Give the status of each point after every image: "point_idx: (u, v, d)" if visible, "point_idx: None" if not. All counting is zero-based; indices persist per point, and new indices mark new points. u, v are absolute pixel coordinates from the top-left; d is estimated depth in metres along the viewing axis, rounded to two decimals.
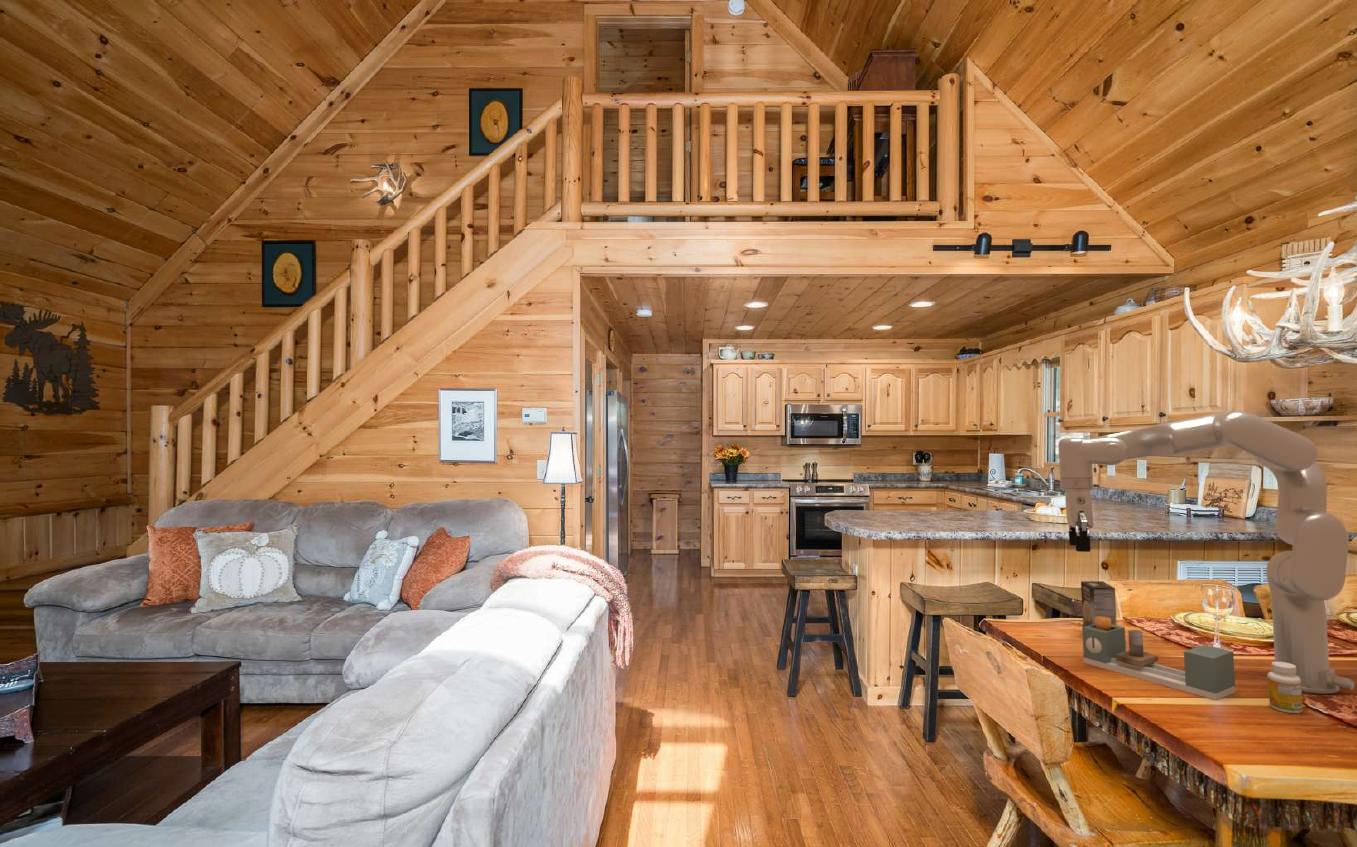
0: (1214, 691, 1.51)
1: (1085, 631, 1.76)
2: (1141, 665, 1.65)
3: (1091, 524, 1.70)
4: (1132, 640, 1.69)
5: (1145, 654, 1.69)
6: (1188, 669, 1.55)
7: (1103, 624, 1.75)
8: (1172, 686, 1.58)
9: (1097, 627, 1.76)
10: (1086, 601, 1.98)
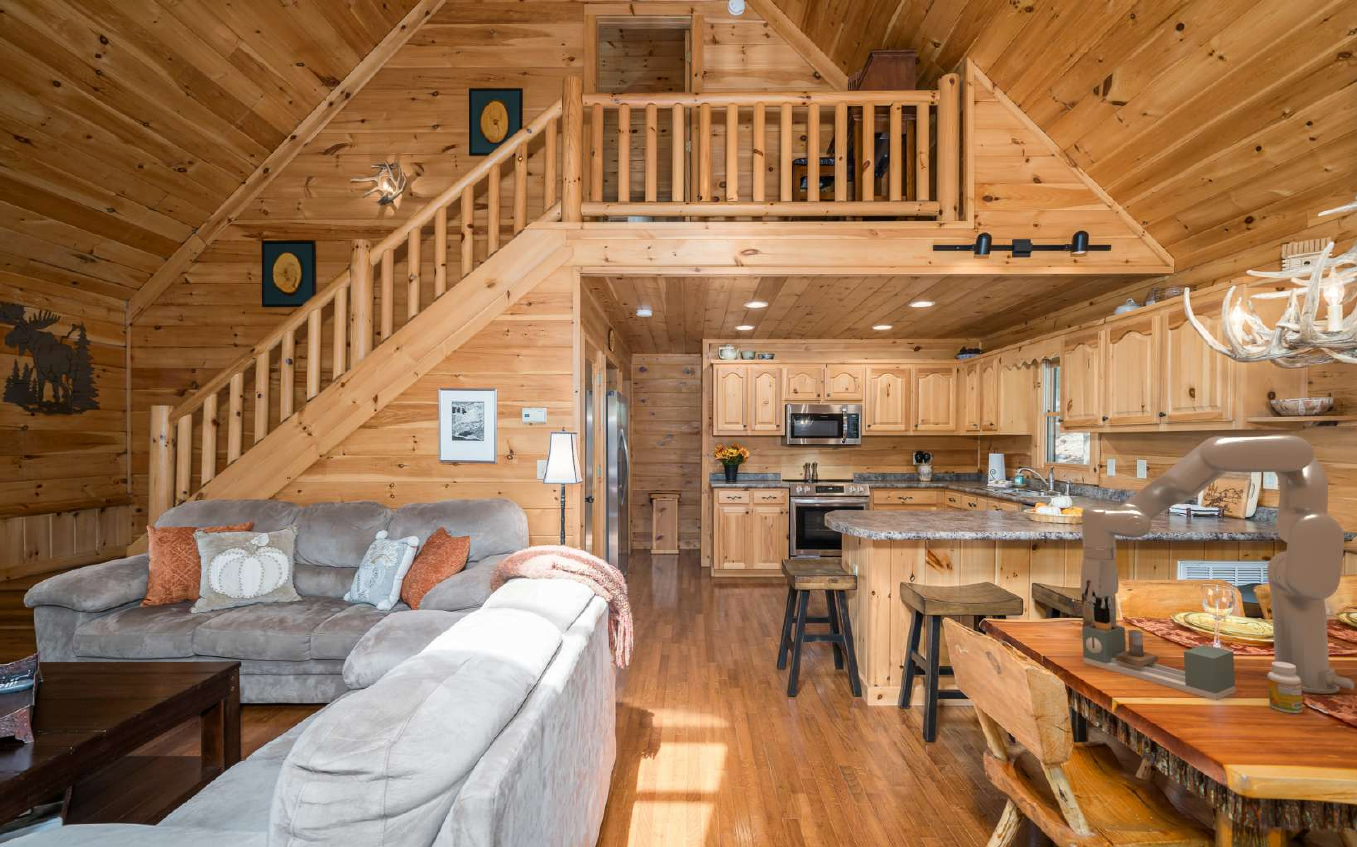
0: (1214, 691, 1.51)
1: (1085, 631, 1.76)
2: (1141, 665, 1.65)
3: None
4: (1132, 640, 1.69)
5: (1145, 654, 1.69)
6: (1188, 669, 1.55)
7: (1104, 628, 1.75)
8: (1172, 686, 1.58)
9: None
10: (1086, 601, 1.98)
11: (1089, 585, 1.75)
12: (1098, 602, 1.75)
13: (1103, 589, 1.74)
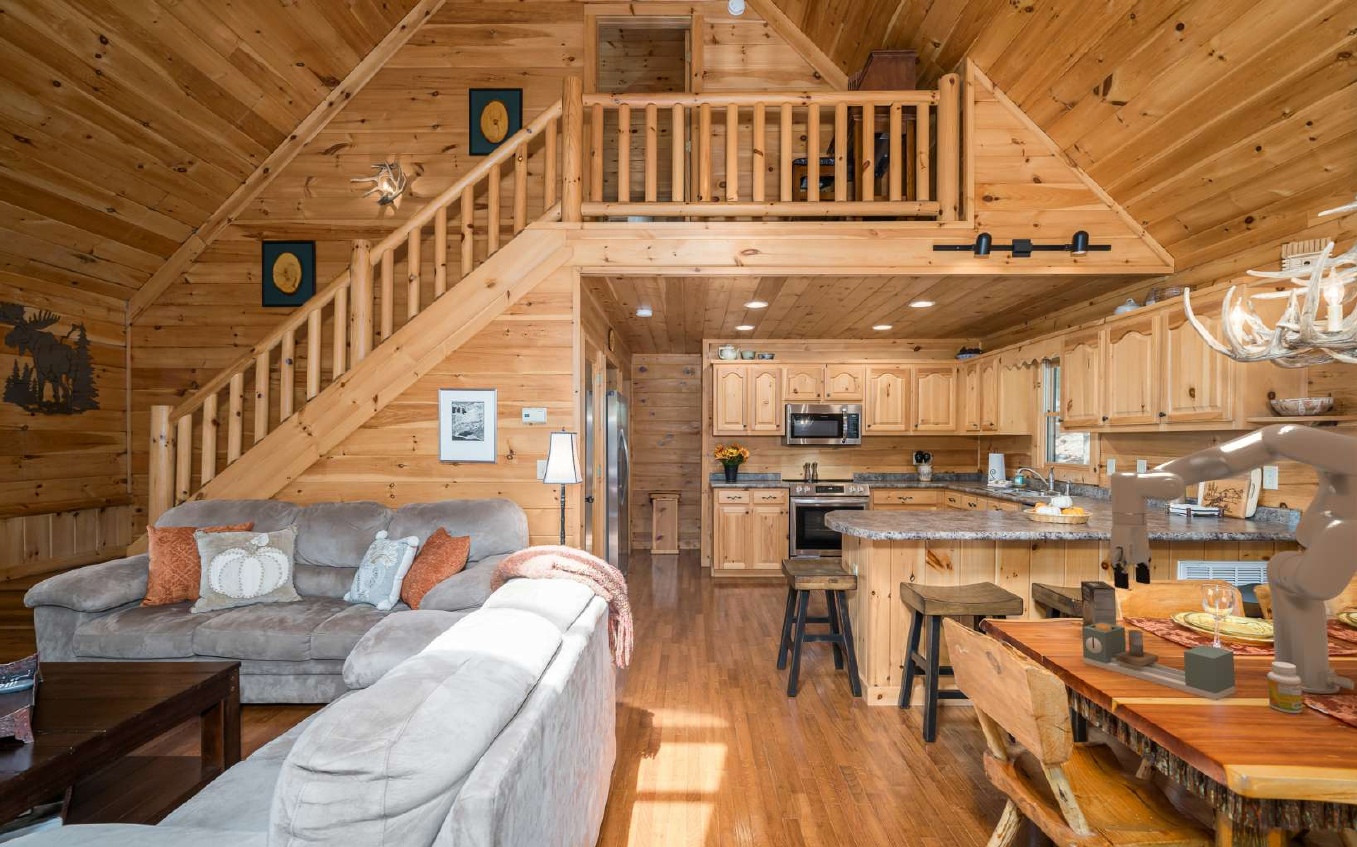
0: (1214, 691, 1.51)
1: (1085, 631, 1.76)
2: (1141, 665, 1.65)
3: None
4: (1132, 640, 1.69)
5: (1145, 654, 1.69)
6: (1188, 669, 1.55)
7: None
8: (1172, 686, 1.58)
9: None
10: (1086, 601, 1.98)
11: None
12: (1119, 567, 1.66)
13: (1134, 556, 1.67)
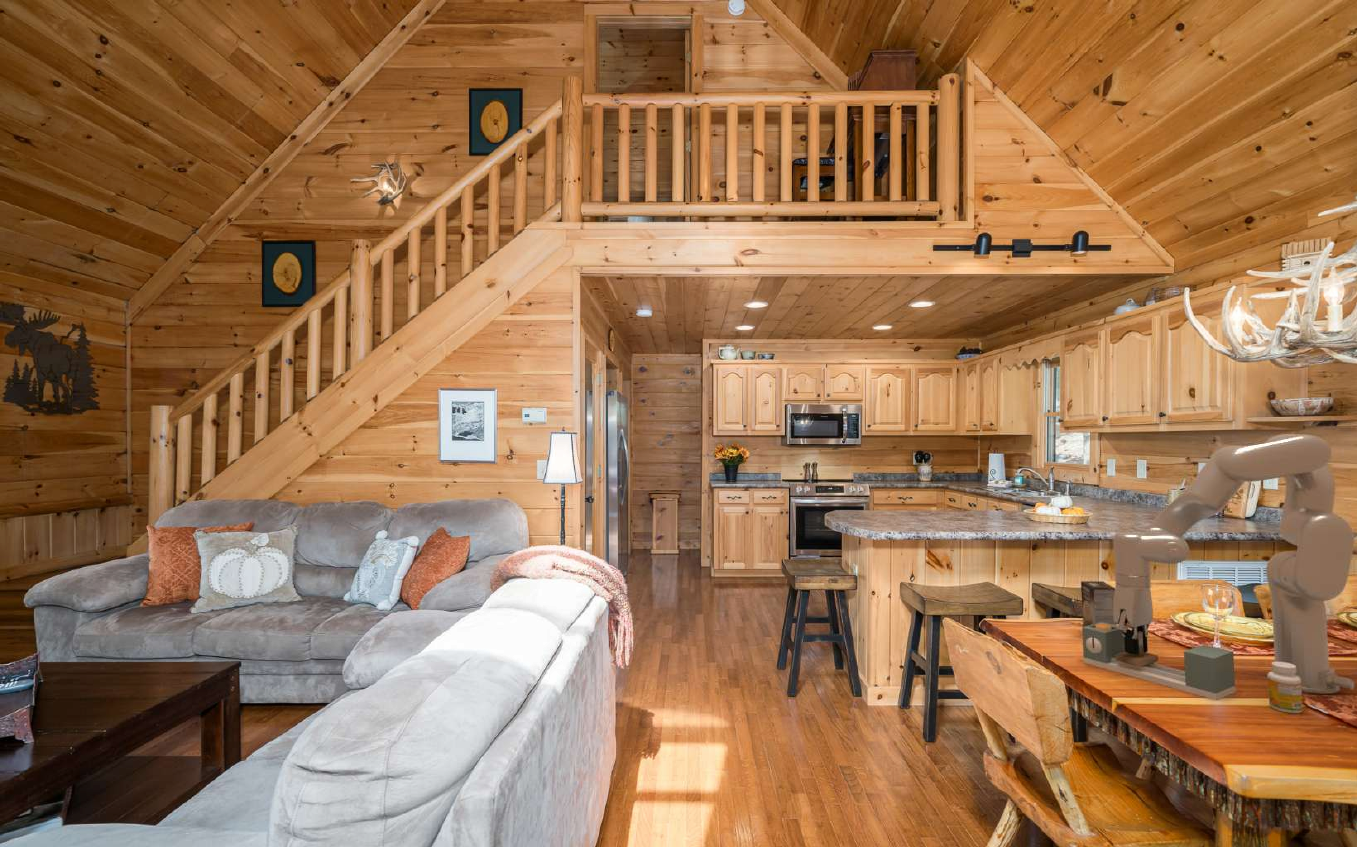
0: (1214, 691, 1.51)
1: (1085, 631, 1.76)
2: (1141, 665, 1.65)
3: None
4: None
5: (1145, 654, 1.69)
6: (1188, 669, 1.55)
7: None
8: (1172, 686, 1.58)
9: None
10: (1086, 601, 1.98)
11: (1123, 614, 1.68)
12: (1129, 632, 1.67)
13: (1137, 618, 1.67)
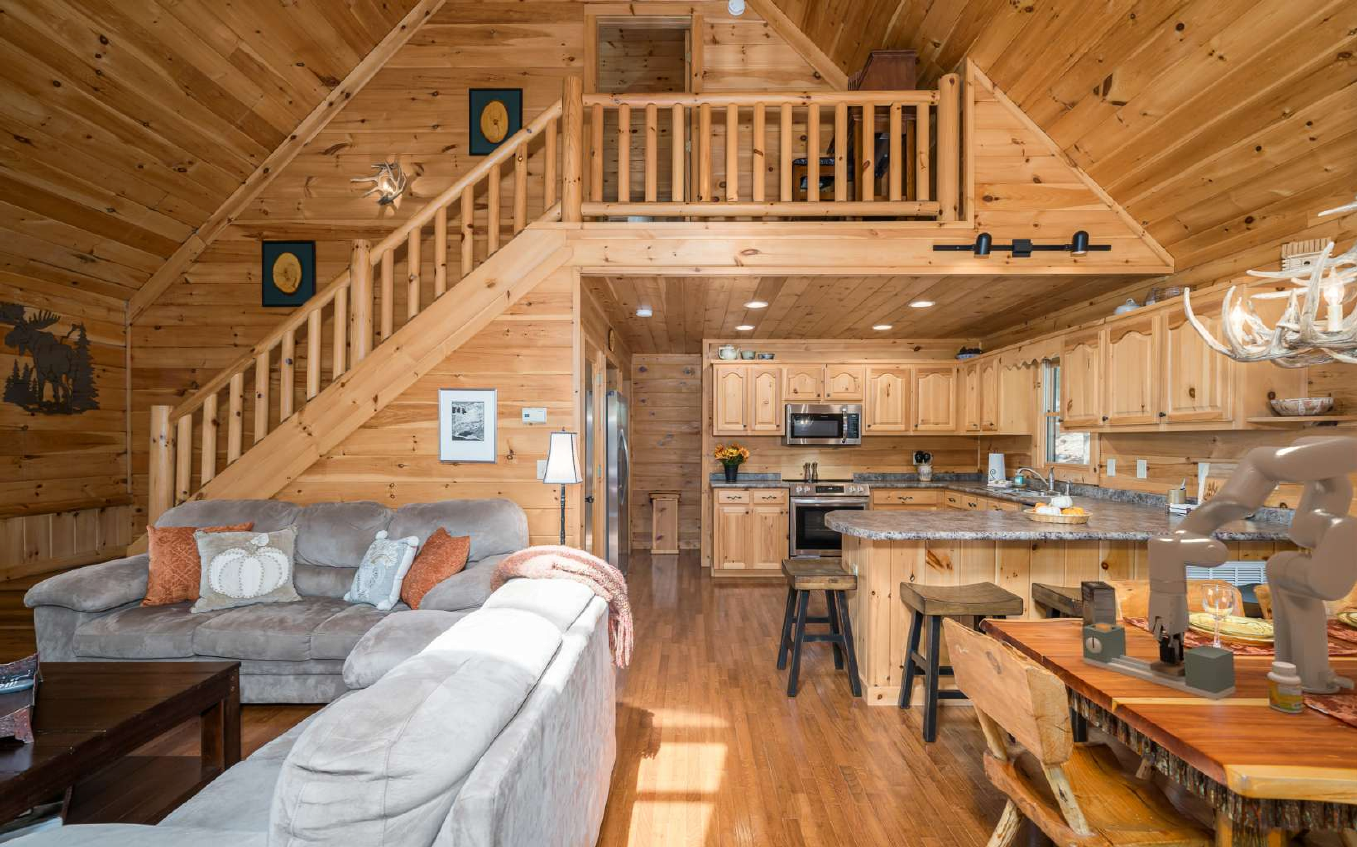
0: (1214, 691, 1.51)
1: (1085, 631, 1.76)
2: (1178, 675, 1.58)
3: None
4: None
5: (1181, 663, 1.62)
6: (1188, 669, 1.55)
7: None
8: (1172, 686, 1.58)
9: None
10: (1086, 601, 1.98)
11: (1158, 621, 1.61)
12: (1165, 641, 1.60)
13: (1174, 626, 1.59)
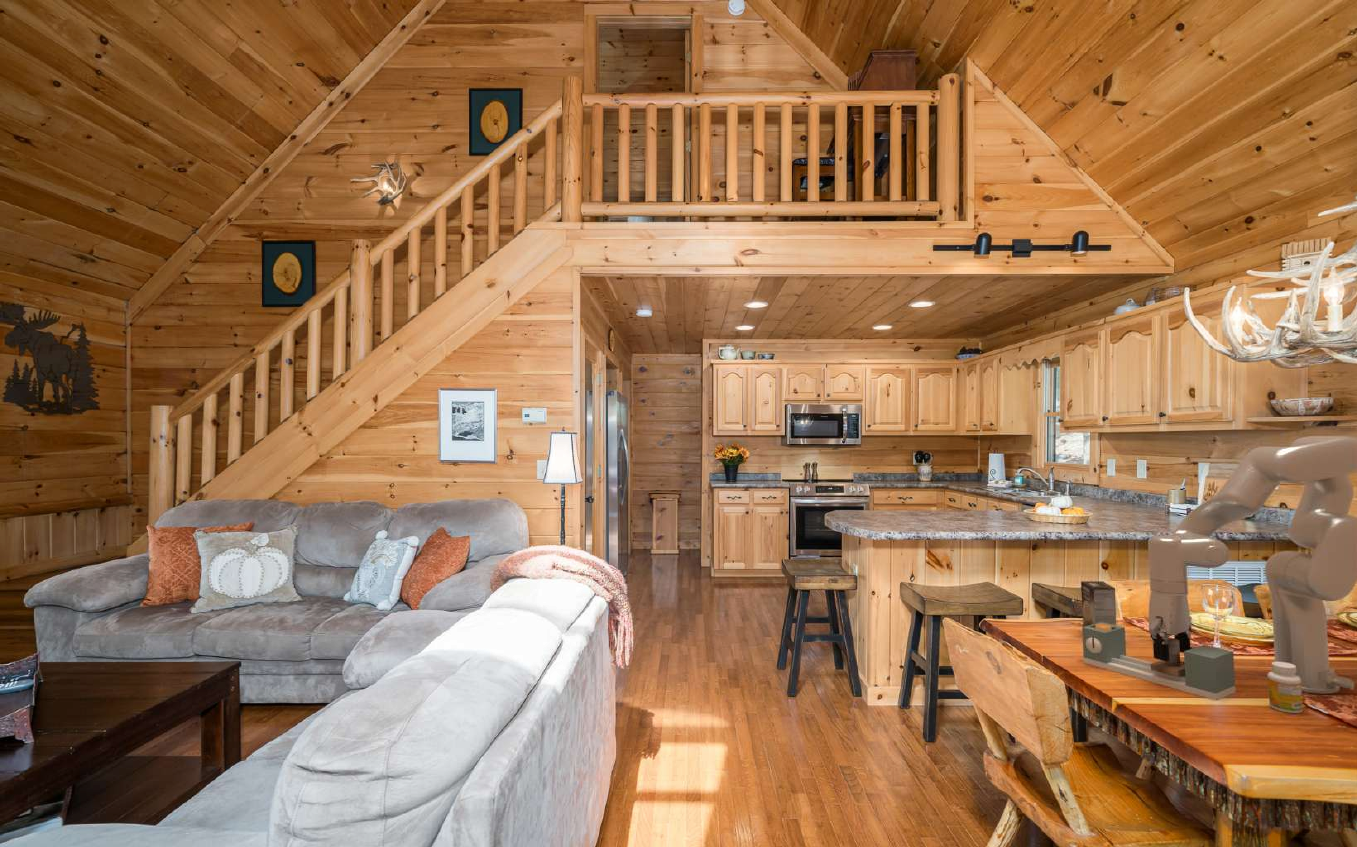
0: (1214, 691, 1.51)
1: (1085, 631, 1.76)
2: (1179, 675, 1.58)
3: None
4: None
5: (1182, 663, 1.62)
6: (1188, 669, 1.55)
7: None
8: (1172, 686, 1.58)
9: None
10: (1086, 601, 1.98)
11: None
12: (1159, 638, 1.58)
13: (1175, 626, 1.59)
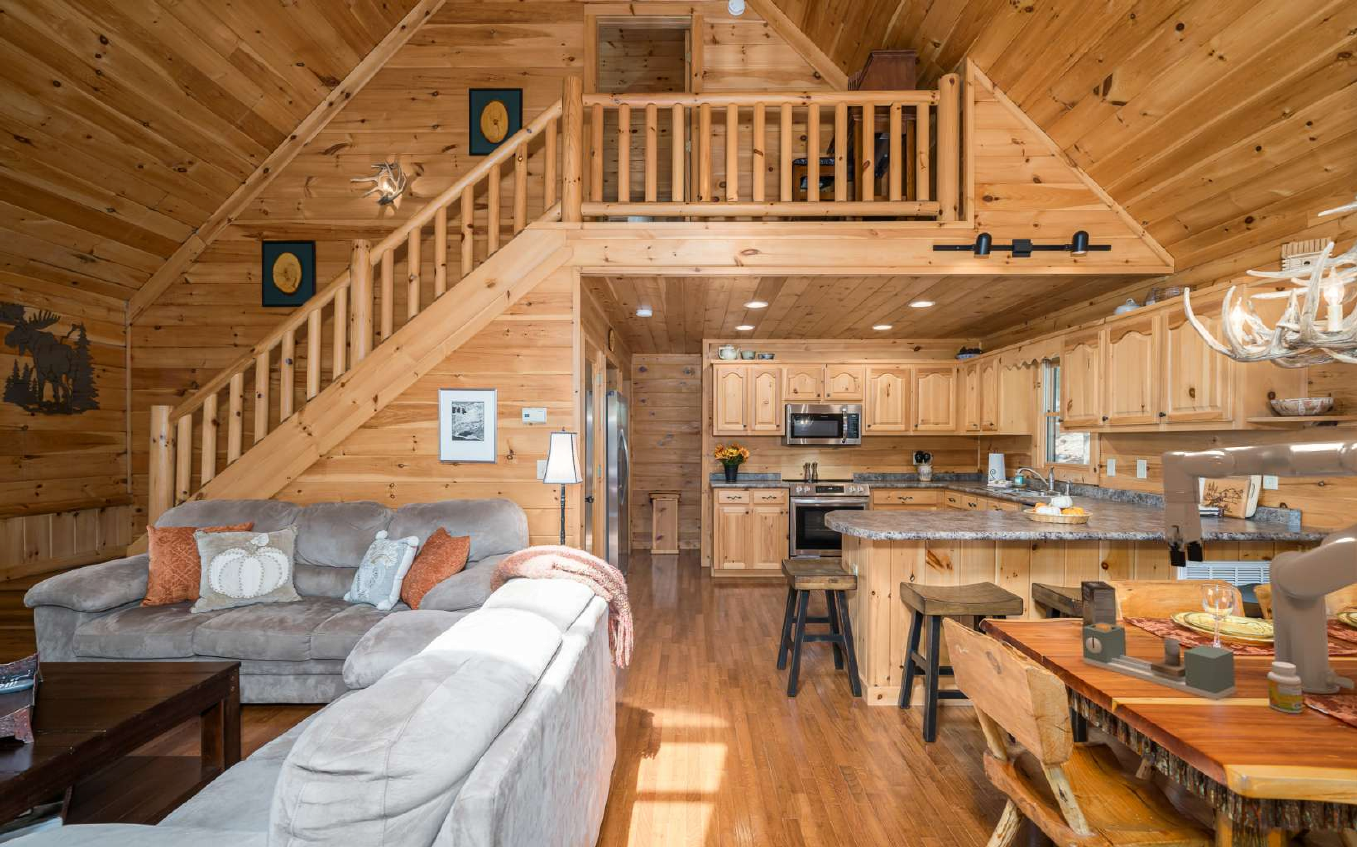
0: (1214, 691, 1.51)
1: (1085, 631, 1.76)
2: (1179, 675, 1.58)
3: None
4: (1168, 649, 1.62)
5: (1182, 663, 1.62)
6: (1188, 669, 1.55)
7: None
8: (1172, 686, 1.58)
9: None
10: (1086, 601, 1.98)
11: None
12: (1176, 545, 1.67)
13: (1190, 533, 1.68)
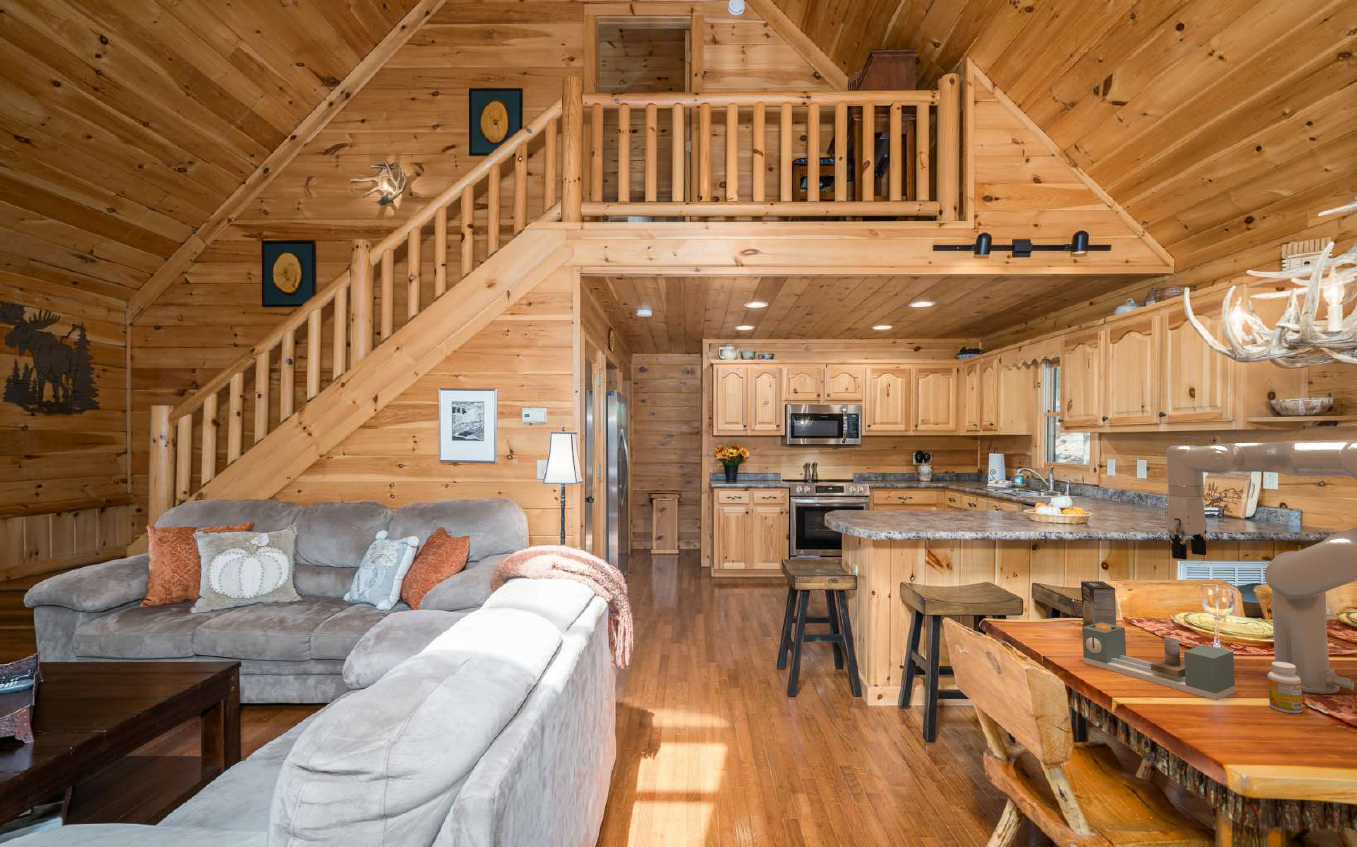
0: (1214, 691, 1.51)
1: (1085, 631, 1.76)
2: (1179, 675, 1.58)
3: None
4: (1168, 649, 1.62)
5: (1182, 663, 1.62)
6: (1188, 669, 1.55)
7: None
8: (1172, 686, 1.58)
9: None
10: (1086, 601, 1.98)
11: None
12: (1177, 537, 1.70)
13: (1192, 527, 1.71)
